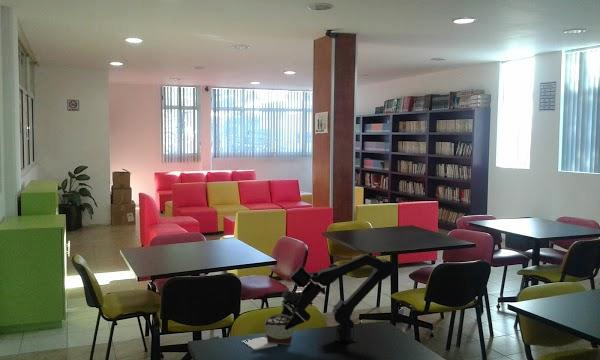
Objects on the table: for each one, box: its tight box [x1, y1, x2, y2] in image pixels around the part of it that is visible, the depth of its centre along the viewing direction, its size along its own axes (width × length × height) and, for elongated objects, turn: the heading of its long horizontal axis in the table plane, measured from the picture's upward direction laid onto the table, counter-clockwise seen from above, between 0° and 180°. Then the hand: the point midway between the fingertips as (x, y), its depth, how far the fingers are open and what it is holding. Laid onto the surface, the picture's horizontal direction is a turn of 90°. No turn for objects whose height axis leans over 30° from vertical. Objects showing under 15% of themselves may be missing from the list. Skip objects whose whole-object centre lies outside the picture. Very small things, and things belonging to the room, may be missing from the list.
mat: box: [241, 336, 279, 351], centre depth 213 cm, size 10×12×1 cm
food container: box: [263, 313, 295, 346], centre depth 212 cm, size 12×6×10 cm, turn 85°
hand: (281, 326), depth 210 cm, fingers open, 9 cm apart
